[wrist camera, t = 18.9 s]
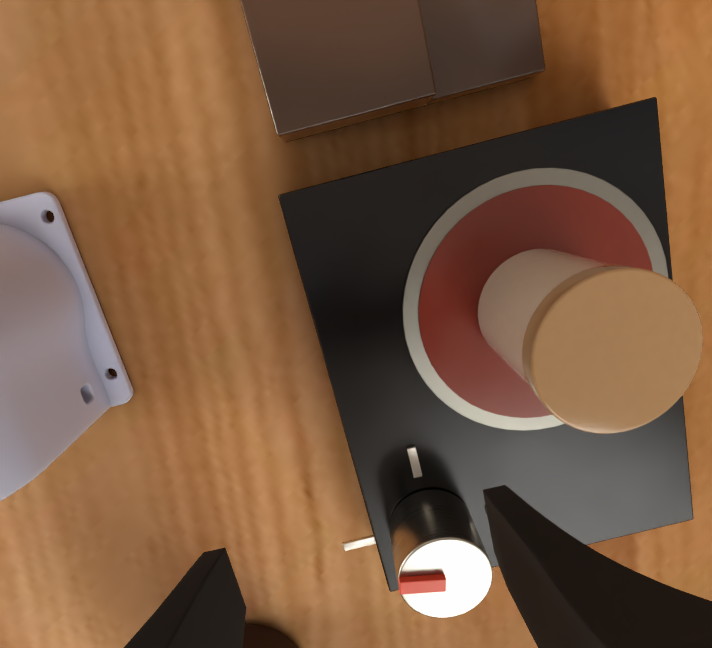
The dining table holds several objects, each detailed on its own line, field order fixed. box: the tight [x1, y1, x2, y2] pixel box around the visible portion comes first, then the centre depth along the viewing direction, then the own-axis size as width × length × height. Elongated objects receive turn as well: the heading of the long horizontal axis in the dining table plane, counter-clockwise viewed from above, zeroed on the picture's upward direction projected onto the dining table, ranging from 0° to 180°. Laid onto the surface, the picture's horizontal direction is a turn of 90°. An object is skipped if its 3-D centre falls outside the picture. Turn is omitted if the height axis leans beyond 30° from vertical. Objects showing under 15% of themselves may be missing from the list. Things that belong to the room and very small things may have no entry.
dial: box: [389, 489, 493, 618], centre depth 20 cm, size 4×4×4 cm
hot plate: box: [278, 97, 693, 592], centre depth 22 cm, size 19×15×3 cm
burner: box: [402, 168, 668, 430], centre depth 20 cm, size 10×10×1 cm
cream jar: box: [478, 248, 703, 434], centre depth 17 cm, size 5×5×6 cm
